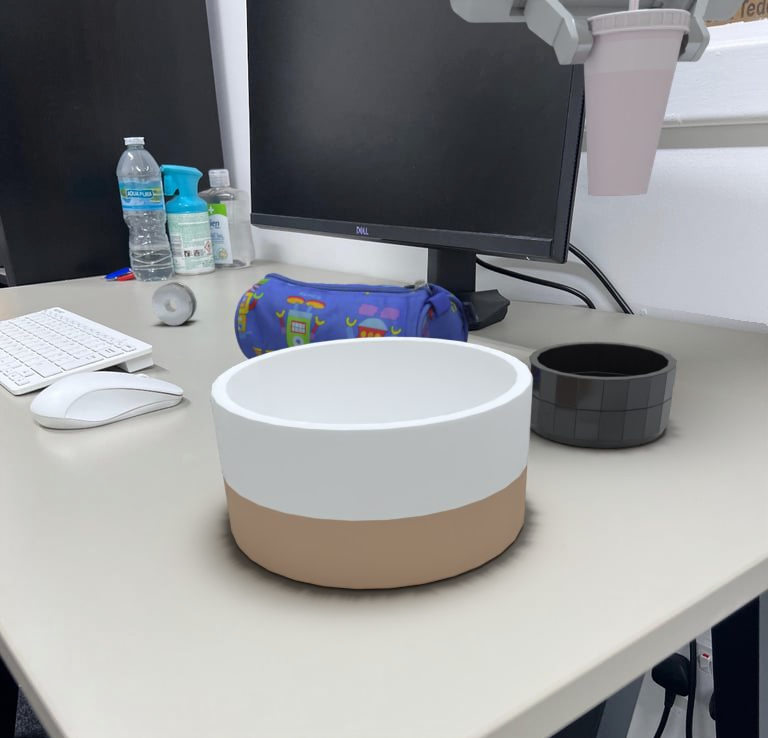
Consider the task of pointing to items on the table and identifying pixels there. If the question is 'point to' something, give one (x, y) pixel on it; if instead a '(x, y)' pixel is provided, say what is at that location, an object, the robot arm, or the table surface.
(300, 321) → the pencil case
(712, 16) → the robot arm
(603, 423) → the dark grey round pot
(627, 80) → the smoothie
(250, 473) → the bowl
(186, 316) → the metal grooved wheel
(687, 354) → the table surface
